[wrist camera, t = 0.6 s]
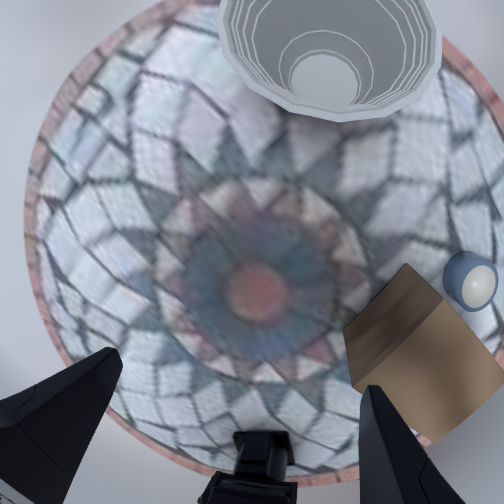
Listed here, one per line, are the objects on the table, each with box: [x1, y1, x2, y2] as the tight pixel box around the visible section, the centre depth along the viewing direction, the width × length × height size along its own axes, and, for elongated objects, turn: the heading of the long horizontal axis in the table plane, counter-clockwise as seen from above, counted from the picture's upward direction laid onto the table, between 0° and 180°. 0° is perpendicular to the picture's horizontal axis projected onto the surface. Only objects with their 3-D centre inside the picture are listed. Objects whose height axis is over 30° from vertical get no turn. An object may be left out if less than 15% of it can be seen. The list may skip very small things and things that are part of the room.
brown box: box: [343, 263, 504, 443], centre depth 20 cm, size 8×11×8 cm
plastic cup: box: [216, 0, 442, 123], centre depth 15 cm, size 11×11×12 cm
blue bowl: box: [443, 251, 498, 312], centre depth 20 cm, size 4×4×3 cm
